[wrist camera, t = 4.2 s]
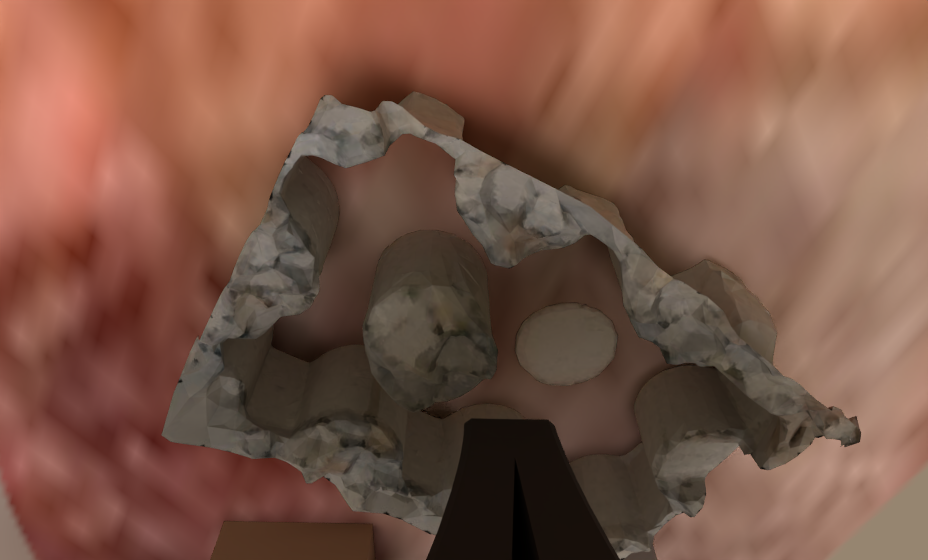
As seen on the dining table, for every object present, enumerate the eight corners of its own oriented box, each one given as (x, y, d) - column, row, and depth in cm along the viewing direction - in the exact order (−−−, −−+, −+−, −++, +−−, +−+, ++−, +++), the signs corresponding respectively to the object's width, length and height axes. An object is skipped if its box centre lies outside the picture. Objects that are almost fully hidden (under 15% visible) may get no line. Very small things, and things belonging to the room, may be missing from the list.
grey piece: (798, 302, 14) (904, 443, 11) (577, 494, 18) (606, 649, 14) (368, 9, 11) (329, 81, 8) (197, 314, 15) (115, 458, 11)
